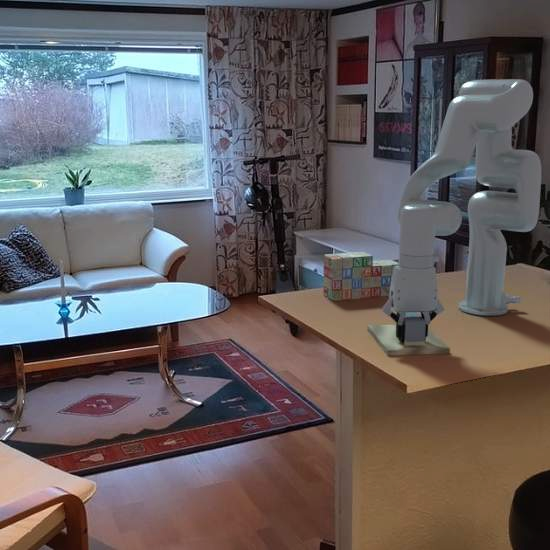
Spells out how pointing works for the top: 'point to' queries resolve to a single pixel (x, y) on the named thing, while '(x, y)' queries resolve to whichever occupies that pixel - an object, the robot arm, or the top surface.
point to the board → (393, 346)
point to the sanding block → (414, 329)
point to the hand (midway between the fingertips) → (411, 339)
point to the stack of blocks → (356, 276)
